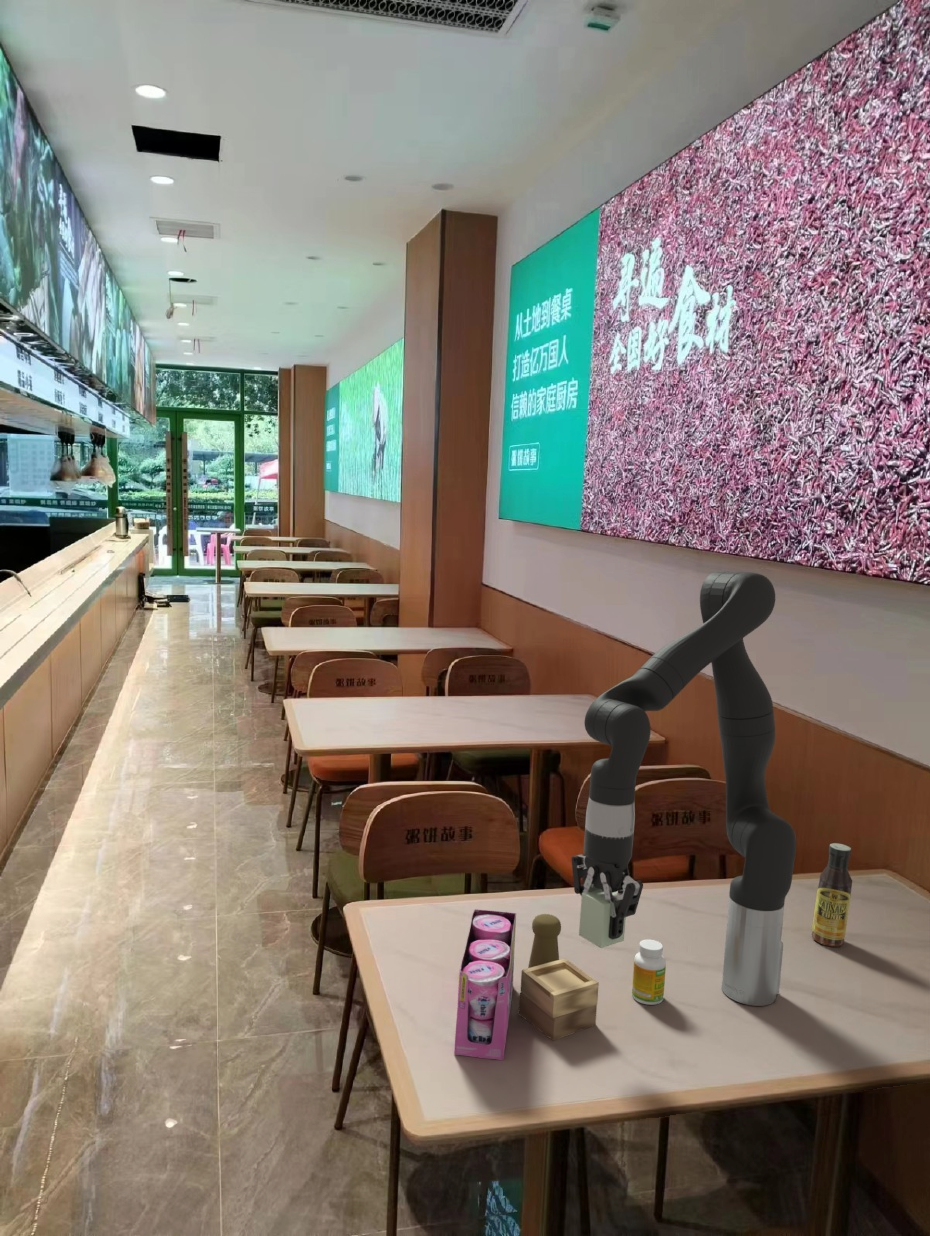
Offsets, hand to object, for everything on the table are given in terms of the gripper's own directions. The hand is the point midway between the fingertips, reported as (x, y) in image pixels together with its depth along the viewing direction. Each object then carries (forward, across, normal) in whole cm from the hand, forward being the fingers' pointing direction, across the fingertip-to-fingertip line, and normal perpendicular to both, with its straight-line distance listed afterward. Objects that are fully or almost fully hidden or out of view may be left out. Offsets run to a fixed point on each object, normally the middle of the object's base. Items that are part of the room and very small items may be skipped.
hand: (601, 930), depth 144 cm
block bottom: (+18, +7, +2) cm, 19 cm away
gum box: (+18, +13, +12) cm, 25 cm away
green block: (+1, 0, 0) cm, 1 cm away
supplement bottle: (+18, +4, -16) cm, 24 cm away
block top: (+14, +7, +2) cm, 16 cm away
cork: (+18, +19, -5) cm, 27 cm away
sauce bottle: (+17, -1, -64) cm, 66 cm away
